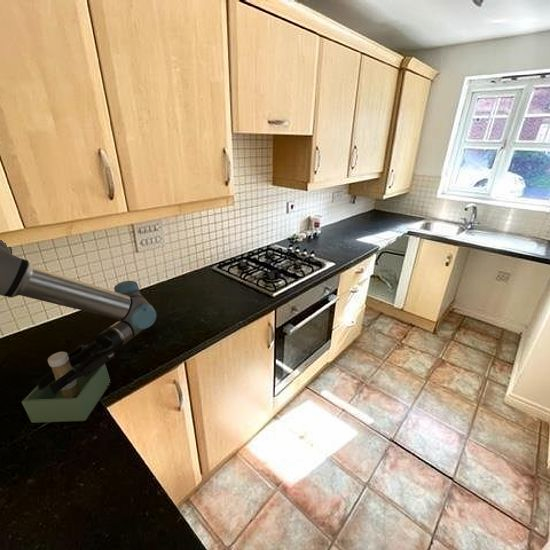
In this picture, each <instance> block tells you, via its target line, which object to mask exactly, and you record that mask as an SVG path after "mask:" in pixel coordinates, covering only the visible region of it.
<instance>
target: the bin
mask: <svg viewBox="0 0 550 550" xmlns="http://www.w3.org/2000/svg"><path fill="white" fill-rule="evenodd" d="M80 364H81V363H78V364H76V365H74V366H72V369H73V370H74V371H75V367H78V366H79V365H80ZM88 371H89V369H88ZM110 378H111V377H110V374H109V371H108V369H107V365H106V363H105V364H103V365H102V366H101V367H99V368H98V369H97V370H96V371H94V372H93V373H92V374H90V375H89V376H88V377H85V376H81V377H78V378H76V380H77V384H78V386H79V388H80V392H79V393H78V394H77V395H76V396H74V397H72V398H63V397H62V393H61V390H60V391H58V392H57V393H56V394H53V392H52V390H51V388H50V385H51V384H52V383H54V382H55V381H56V380H54V381H53V382H52V383H50V384H49V385H47V386H46V387H45V388H43V389H42V390H40V389H39V387H38V385H37V384H36V386H35V387H34V388H33V389H32V390H31V392H30V393H28V395H26V397H24V398H23V400H21V404H22V406H23V408H24V410H25V412H26V414H27V417H28V418H29V421H30V423H32V424H34V423H35V424H36V423H38V424H39V423H61V422H85V421H87V419H88V418H89V416H90V414H91V413H92V412H93V411H94V408H95V407H96V405H97V404H98V402H99V401H100V400H101V398H102V396H103V395H104V393H105V392H106V390H107V389H108V387H109V386H110V384H111V382H112V381H111V379H110ZM110 381H111V382H110ZM109 383H110V384H109ZM107 386H108V387H107Z"/></svg>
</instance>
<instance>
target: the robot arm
mask: <svg viewBox="0 0 550 550" xmlns="http://www.w3.org/2000/svg"><path fill="white" fill-rule="evenodd" d="M0 296H2V297H6V298H14V297H17V296H21V297H25V298H29V299H34V300H37V301H42V302H45V303H50V304H54V305H58V306H63V307H65V308H70V309H74V310H79V311H82V312H86V313H91V314H93V315H94V314H95V315H99V316H103V317H107V318H111V319H115V320H118V321H116V322H115V323H114V324H112V325H110V326H109V327H107V329H105V330H103V331H102V332H100V333H99V334H98V335H97V336H96V338H95V340H94V341H91V342H90V343H88V344H84V342H80V343H78V345H77V346H76V347H75V348H73V349H72V350H70V351H68V352H66V353H67V354H68V357H69V362H70V364H71V367H72V366H74V365H76V364H80V365H79V366H78V367H75V371H74V370H73V369H72V370H70V371H69V372H68V373H66V374H65V375H63V376H62V377H61V378H59V379H58V380H57V381H55V382H54V383H52V382H53V381H54V380H56V379H55V376H54V373H53V371H52V369H51V370H50V371H48V372H47V373H46V374H45V375H43V376H42V377H41V378H39V379H38V380H35V382H36V386H37V385H38V387H39V389H40V390H42V389H43V388H45V387H46V386H47V385H49V384H50V383H52V384H51V385H50V388H51V390H52V392H53V394H56V393H57V392H58V391H60V390H61V389H62V388H63V387H65V386H66V385H67V384H70V383H71V382H72V381H74V380H75V379H76V378H78V377H81V376H85V377H88V376H89V375H90V374H92V373H93V372H94V371H96V370H97V369H98V368H99V367H101V366H102V365H103V364H105V365H106V363H107V362H109V361H111V360H113V359H114V358H116V355H115V352H116V351H118V350H119V349H121V347H123V346H124V345H125V344H127V343H128V342H129V341H131V340H132V339H133V338H134V337H136V336H138V334H140V333H141V332H142V331H144V330H146V329H148V328H150V327H152V326H153V325H154V323H156V320H157V311H156V309H155V308H154V306H153V305H152V304H151V303H149V301H147V300H146V298H145V297H144V296H143V295H142V294H141V292H140V287H139V285H138V282H137V281H135V280H124V281H121V282H118V283H116V285H115V286H114V288H113V290H111V289H108V288H103V287H101V286H97V285H94V284H92V283H91V284H90V283H88V282H84V281H81V280H78V279H75V278H71V277H69V276H65V275H61V274H59V273H55V272H52V271H48V270H45V269H42V268H39V267H36V266H34V265H33V264H32V263H31V262H30V260H27V259H24V258H21V257H18V256H16V255H14V254H13V249H12V246H11V247H7V245H6V243H4V242H3V241H2V240H0ZM88 369H89V371H88Z"/></svg>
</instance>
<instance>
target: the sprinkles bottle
mask: <svg viewBox="0 0 550 550" xmlns="http://www.w3.org/2000/svg"><path fill="white" fill-rule="evenodd" d="M67 353H68V352H66V351H58V352H55V353H53V354H51V355H50V356H49V357H48V358H47V363H48V365H49V367H50V368H51V370H52V371H53V373H54V376H55V379H56V381H57V380H58V379H59V378H61V377H62V376H63V375H65V374H66V373H68V372H69V371H70V370H72V367H71V364H70V362H69V357H68V354H67ZM79 392H80V388H79V386H78V384H77V380H76V379H75V380H74V381H72V382H71V383H70V384H67V385H66V386H65V387H63V388H62V389H61V393H62V397H63V398H72V397H74V396H76V395H77V394H78V393H79Z"/></svg>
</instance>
